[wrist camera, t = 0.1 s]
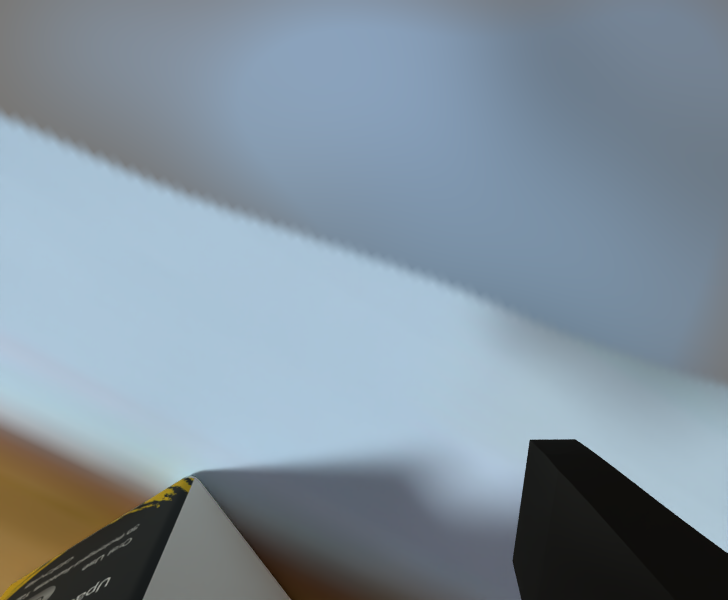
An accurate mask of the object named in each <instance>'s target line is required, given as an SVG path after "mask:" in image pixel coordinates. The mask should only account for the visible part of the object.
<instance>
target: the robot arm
mask: <svg viewBox="0 0 728 600" xmlns="http://www.w3.org/2000/svg"><path fill="white" fill-rule="evenodd" d="M513 565H514V569H515V574H516V578H517V582H518V587H519V591H520V595H521V599H522V600H728V553H726V552H725V551H724V550H722V549H721V548H720V547H718V546H717V545H715V544H714V543H713V542H711V541H710V540H709V539H707V538H706V537H705V536H703V535H702V534H700V533H699V532H698V531H696V530H695V529H694V528H692V527H691V526H690V525H688V524H687V523H686V522H684V521H683V520H682V519H680V518H679V517H678V516H676V515H675V514H674V513H673V512H671V511H670V510H669V509H667V508H666V507H665V506H663V505H662V504H661V503H659V502H658V501H657V500H655V499H654V498H653V497H652V496H650V495H649V494H648V493H646V492H645V491H644V490H643V489H641V488H640V487H639V486H637V485H636V484H635V483H633V482H632V481H631V480H630V479H628V478H627V477H626V476H624V475H623V474H622V473H620V472H619V471H618V470H617V469H615V468H614V467H613V466H611V465H610V464H609V463H607V462H606V461H605V460H603V459H602V458H601V457H599V456H598V455H597V454H595V453H594V452H593V451H591V450H590V449H588V448H587V447H586V446H584V445H583V444H581V443H580V442H578V441H577V440H575V439H570V440H530V442H529V449H528V456H527V463H526V470H525V477H524V484H523V491H522V498H521V505H520V513H519V520H518V527H517V534H516V541H515V548H514V555H513Z"/></svg>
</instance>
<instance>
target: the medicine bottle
mask: <svg viewBox="0 0 728 600" xmlns="http://www.w3.org/2000/svg"><path fill="white" fill-rule="evenodd" d="M0 600H291V599H290V597H289V596H288V595H287V594H286V592H285V591H284V590H283V588H282V587H281V586H280V584H279V583H278V582H277V581H276V579H275V578H274V577H273V575H272V574H271V573H270V571H269V570H268V569H267V567H266V566H265V565H264V564H263V562H262V561H261V560H260V558H259V557H258V556H257V554H256V553H255V552H254V551H253V549H252V548H251V547H250V545H249V544H248V543H247V541H246V540H245V539H244V537H243V536H242V535H241V534H240V532H239V531H238V530H237V528H236V527H235V526H234V524H233V523H232V522H231V521H230V519H229V518H228V517H227V515H226V514H225V513H224V511H223V510H222V509H221V508H220V506H219V505H218V504H217V502H216V501H215V500H214V498H213V497H212V496H211V494H210V493H209V492H208V491H207V489H206V488H205V487H204V485H203V484H202V483H201V481H200V480H199V479H197V478H196V477H193V476H188V477H184V478H183V479H181V480H180V481H178V482H176V483H175V484H173V485H172V486H170V487H168V488H167V489H165V490H163V491H162V492H160V493H159V494H157V495H155V496H154V497H152V498H150V499H149V500H147V501H146V502H144V503H142V504H141V505H139V506H138V507H136V508H134V509H133V510H131V511H129V512H128V513H126V514H125V515H123V516H121V517H120V518H118V519H116V520H115V521H113V522H112V523H110V524H108V525H107V526H105V527H104V528H102V529H100V530H99V531H97V532H95V533H94V534H92V535H91V536H89V537H87V538H86V539H84V540H82V541H81V542H79V543H78V544H76V545H74V546H73V547H71V548H70V549H68V550H66V551H65V552H63V553H61V554H60V555H58V556H57V557H55V558H53V559H52V560H50V561H48V562H47V563H45V564H44V565H42V566H40V567H39V568H37V569H36V570H34V571H32V572H31V573H29V574H27V575H26V576H24V577H23V578H21V579H19V580H18V581H16V582H15V583H13V584H12V585H11V586H10V587H9V588H8V589H7V590H6V592H5V593H4V594H3V595H2V597H1V598H0Z"/></svg>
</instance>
